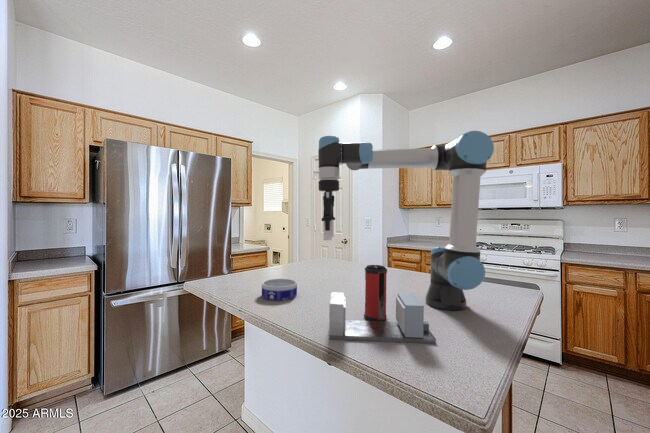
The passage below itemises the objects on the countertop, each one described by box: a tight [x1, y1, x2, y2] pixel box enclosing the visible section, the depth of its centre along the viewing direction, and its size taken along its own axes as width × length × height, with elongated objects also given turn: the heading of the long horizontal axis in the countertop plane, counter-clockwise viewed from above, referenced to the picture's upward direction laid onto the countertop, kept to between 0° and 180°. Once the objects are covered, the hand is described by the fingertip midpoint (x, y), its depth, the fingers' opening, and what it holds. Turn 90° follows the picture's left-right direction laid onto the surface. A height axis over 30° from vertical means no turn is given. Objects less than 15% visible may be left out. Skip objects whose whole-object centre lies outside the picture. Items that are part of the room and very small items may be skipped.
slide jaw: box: [395, 292, 430, 338], centre depth 86 cm, size 9×12×9 cm
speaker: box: [363, 264, 388, 321], centre depth 99 cm, size 8×8×18 cm
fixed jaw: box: [328, 291, 347, 336], centre depth 88 cm, size 5×12×9 cm, turn 176°
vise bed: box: [328, 319, 437, 344], centre depth 87 cm, size 30×12×1 cm, turn 86°
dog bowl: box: [261, 278, 298, 302], centre depth 124 cm, size 15×15×6 cm
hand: (328, 238), depth 104 cm, fingers open, 13 cm apart
